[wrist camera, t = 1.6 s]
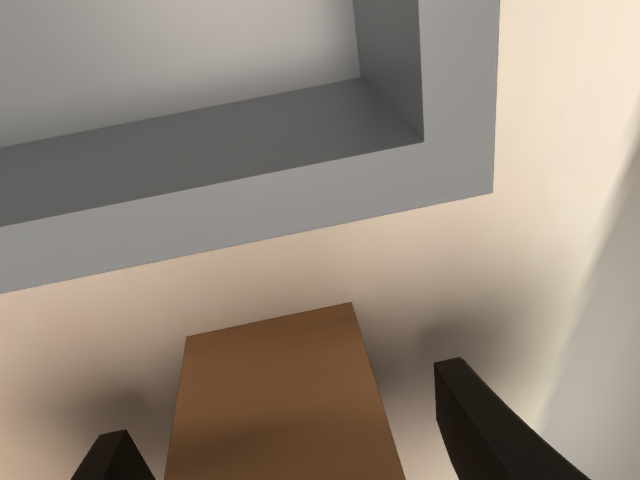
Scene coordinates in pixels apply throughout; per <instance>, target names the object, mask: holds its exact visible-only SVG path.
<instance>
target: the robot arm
mask: <svg viewBox="0 0 640 480" xmlns="http://www.w3.org/2000/svg"><path fill="white" fill-rule="evenodd" d="M434 375H435V398H436V420H437V423H438V426H439V429H440V432H441V435H442V437H443V440H444V443H445V446H446V449H447V452H448V454H449V457H450V460H451V463H452V465H453V467H454V469H455V472H456V474H457V476H458V478H459V480H591V479H589V478H588V477H587V476H586V475H584V474H583V473H582V472H581V471H580V470H578V469H577V468H576V467H575V466H573V465H572V464H571V463H570V462H569V461H568V460H566V459H565V458H564V457H563V456H562V455H561V454H559V453H558V452H557V451H556V450H555V449H554V448H552V447H551V446H550V445H549V444H548V443H547V442H546V441H545V440H543V439H542V438H541V437H540V436H539V435H538V434H537V433H536V432H535V431H534V430H533V429H531V428H530V427H529V426H528V425H527V424H526V423H525V422H524V421H523V420H522V419H521V418H520V417H519V416H518V415H516V414H515V413H514V412H513V411H512V410H511V409H510V408H509V407H508V406H507V405H506V404H505V403H504V402H503V401H502V400H501V399H500V398H499V397H498V396H497V395H496V394H495V393H494V392H493V391H492V390H491V389H490V388H489V387H488V386H487V385H486V383H485V382H484V381H483V380H482V379H481V378H480V377H479V376H478V375H477V374H476V373H475V372H474V371H473V369H472V368H471V367H470V366H469V365H468V364H467V363H466V362H465V361H464V360H463V359H462V358H460V357H458V358H454V359H449V360H444V361H440V362H435V363H434ZM71 480H156V479H155V478H154V476H153V474H152V473H151V471H150V469H149V467H148V466H147V464H146V462H145V461H144V459H143V457H142V455H141V454H140V452H139V450H138V449H137V447H136V445H135V444H134V442H133V440H132V438H131V437H130V435H129V433H128V432H127V430H126V429H125V430H120V431H116V432H111V433H106V434H102V435H99V437H98V438H97V439H96V441H95V443H94V444H93V446H92V447H91V449H90V450H89V452H88V453H87V455H86V456H85V458H84V459H83V461H82V462H81V464H80V466H79V467H78V469H77V470H76V472H75V473H74V475H73V477H72V478H71Z"/></svg>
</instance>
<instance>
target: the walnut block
mask: <svg viewBox="0 0 640 480" xmlns="http://www.w3.org/2000/svg"><path fill="white" fill-rule="evenodd" d="M164 480H406V479H405V476H404V472H403V469H402V466H401V463H400V459H399V456H398V453H397V450H396V446H395V443H394V440H393V437H392V433H391V430H390V427H389V423H388V420H387V417H386V414H385V410H384V407H383V404H382V401H381V397H380V394H379V391H378V388H377V384H376V381H375V378H374V375H373V371H372V368H371V365H370V362H369V358H368V355H367V352H366V348H365V345H364V342H363V339H362V335H361V332H360V329H359V326H358V322H357V319H356V316H355V313H354V309H353V306H352V303H351V302H349V303H344V304H339V305H335V306H330V307H325V308H320V309H316V310H311V311H306V312H301V313H297V314H292V315H287V316H282V317H278V318H273V319H268V320H263V321H259V322H254V323H249V324H244V325H240V326H235V327H230V328H225V329H221V330H216V331H211V332H206V333H202V334H197V335H192V336H187V339H186V345H185V351H184V358H183V364H182V370H181V376H180V383H179V389H178V395H177V401H176V408H175V414H174V420H173V426H172V433H171V439H170V445H169V451H168V458H167V464H166V470H165V476H164Z"/></svg>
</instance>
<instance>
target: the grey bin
mask: <svg viewBox="0 0 640 480" xmlns="http://www.w3.org/2000/svg"><path fill="white" fill-rule="evenodd" d="M499 17H500V0H0V294H2V293H7V292H12V291H17V290H21V289H26V288H31V287H36V286H41V285H46V284H51V283H56V282H60V281H65V280H70V279H75V278H80V277H85V276H90V275H95V274H99V273H104V272H109V271H114V270H119V269H124V268H129V267H134V266H138V265H143V264H148V263H153V262H158V261H163V260H168V259H173V258H178V257H182V256H187V255H192V254H197V253H202V252H207V251H212V250H217V249H221V248H226V247H231V246H236V245H241V244H246V243H251V242H256V241H260V240H265V239H270V238H275V237H280V236H285V235H290V234H295V233H299V232H304V231H309V230H314V229H319V228H324V227H329V226H334V225H339V224H343V223H348V222H353V221H358V220H363V219H368V218H373V217H378V216H382V215H387V214H392V213H397V212H402V211H407V210H412V209H417V208H421V207H426V206H431V205H436V204H441V203H446V202H451V201H456V200H461V199H465V198H470V197H475V196H480V195H485V194H490V193H493V174H494V148H495V122H496V96H497V69H498V43H499Z"/></svg>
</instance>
